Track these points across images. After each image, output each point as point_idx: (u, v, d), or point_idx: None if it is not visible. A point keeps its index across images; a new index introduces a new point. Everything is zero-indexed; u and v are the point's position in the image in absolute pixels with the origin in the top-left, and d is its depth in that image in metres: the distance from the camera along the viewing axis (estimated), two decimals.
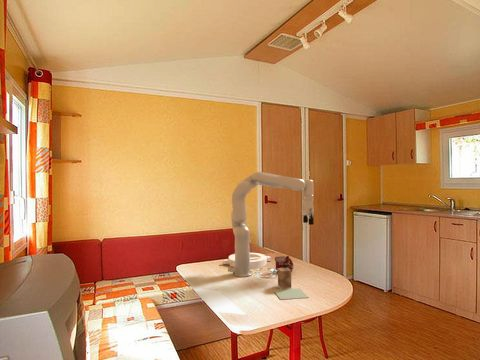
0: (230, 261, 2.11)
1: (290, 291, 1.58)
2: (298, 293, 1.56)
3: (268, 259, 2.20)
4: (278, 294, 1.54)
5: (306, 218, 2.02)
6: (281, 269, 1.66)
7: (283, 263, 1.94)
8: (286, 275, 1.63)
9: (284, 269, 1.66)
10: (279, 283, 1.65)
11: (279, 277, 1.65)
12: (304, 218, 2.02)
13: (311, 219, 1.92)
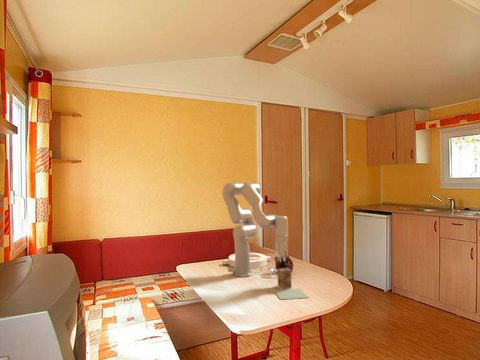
0: (230, 261, 2.11)
1: (290, 291, 1.58)
2: (298, 293, 1.56)
3: (268, 259, 2.20)
4: (278, 294, 1.54)
5: None
6: (281, 269, 1.66)
7: None
8: (286, 275, 1.63)
9: (284, 269, 1.66)
10: (279, 283, 1.65)
11: (279, 277, 1.65)
12: None
13: (282, 264, 1.69)
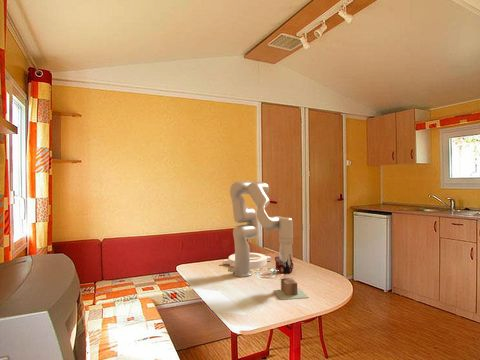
0: (230, 261, 2.11)
1: None
2: (298, 293, 1.56)
3: (268, 259, 2.20)
4: (278, 294, 1.54)
5: None
6: (288, 289, 1.53)
7: None
8: None
9: (292, 289, 1.53)
10: (282, 285, 1.60)
11: (283, 287, 1.57)
12: None
13: (287, 268, 1.61)
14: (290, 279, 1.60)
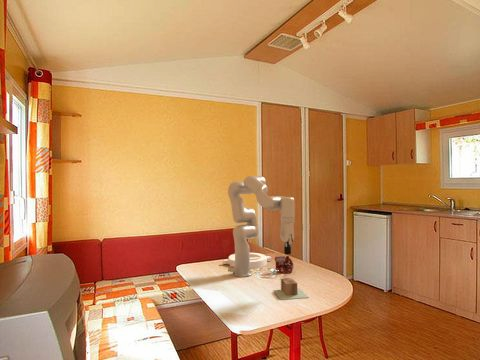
0: (230, 261, 2.11)
1: None
2: (298, 293, 1.56)
3: (268, 259, 2.20)
4: (278, 294, 1.54)
5: None
6: (288, 289, 1.53)
7: (283, 263, 1.94)
8: None
9: (292, 289, 1.53)
10: (282, 285, 1.60)
11: (283, 287, 1.57)
12: None
13: (288, 248, 1.58)
14: (290, 279, 1.60)
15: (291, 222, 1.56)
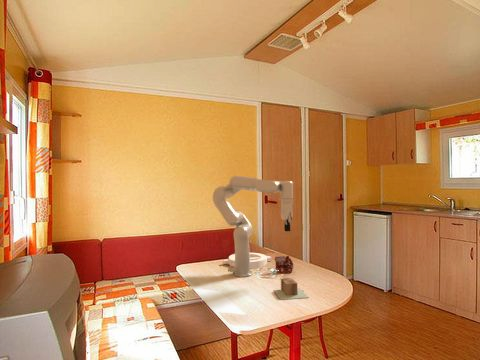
0: (230, 261, 2.11)
1: None
2: (298, 293, 1.56)
3: (268, 259, 2.20)
4: (278, 294, 1.54)
5: None
6: (288, 289, 1.53)
7: (283, 263, 1.94)
8: None
9: (292, 289, 1.53)
10: (282, 285, 1.60)
11: (283, 287, 1.57)
12: None
13: (287, 225, 1.80)
14: (290, 279, 1.60)
15: (290, 202, 1.78)
